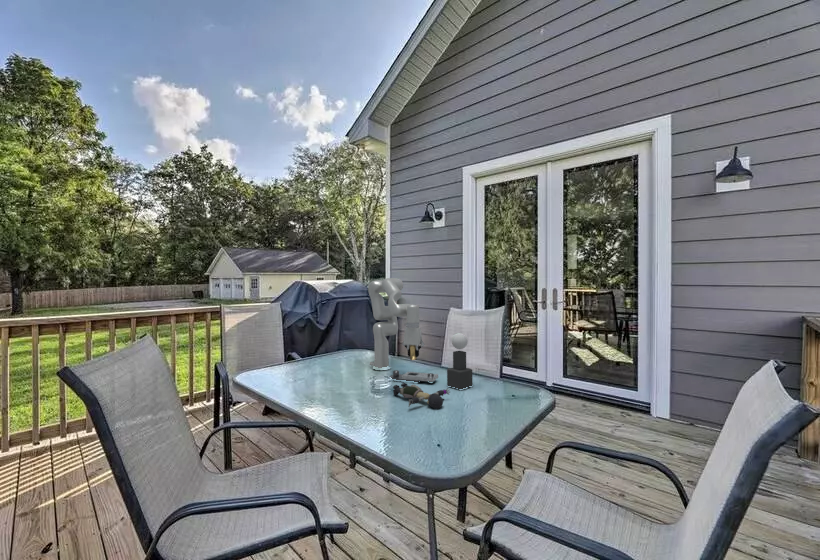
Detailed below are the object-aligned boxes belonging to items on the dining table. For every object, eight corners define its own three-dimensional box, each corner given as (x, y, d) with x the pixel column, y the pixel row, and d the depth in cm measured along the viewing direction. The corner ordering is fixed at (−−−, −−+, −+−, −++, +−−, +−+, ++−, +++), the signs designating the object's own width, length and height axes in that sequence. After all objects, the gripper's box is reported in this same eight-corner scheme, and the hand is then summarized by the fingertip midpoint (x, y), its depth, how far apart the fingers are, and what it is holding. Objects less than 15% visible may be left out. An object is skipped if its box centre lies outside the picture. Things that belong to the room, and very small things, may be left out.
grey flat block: (388, 380, 219) (388, 372, 219) (394, 376, 228) (394, 368, 228) (432, 385, 209) (432, 376, 209) (438, 381, 218) (438, 372, 218)
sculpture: (459, 383, 212) (458, 331, 212) (472, 387, 204) (472, 333, 205) (446, 386, 206) (446, 332, 206) (460, 390, 198) (459, 334, 198)
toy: (378, 400, 183) (419, 418, 161) (378, 386, 183) (419, 401, 160) (418, 389, 201) (460, 403, 178) (418, 376, 201) (460, 389, 178)
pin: (408, 359, 217) (408, 342, 217) (411, 358, 221) (411, 341, 221) (415, 360, 216) (415, 343, 216) (417, 358, 219) (417, 342, 220)
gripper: (397, 325, 218) (397, 357, 218) (424, 326, 212) (424, 358, 212) (402, 324, 225) (402, 354, 225) (428, 325, 219) (428, 356, 219)
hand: (413, 356), depth 218 cm, fingers closed on pin, 4 cm apart
